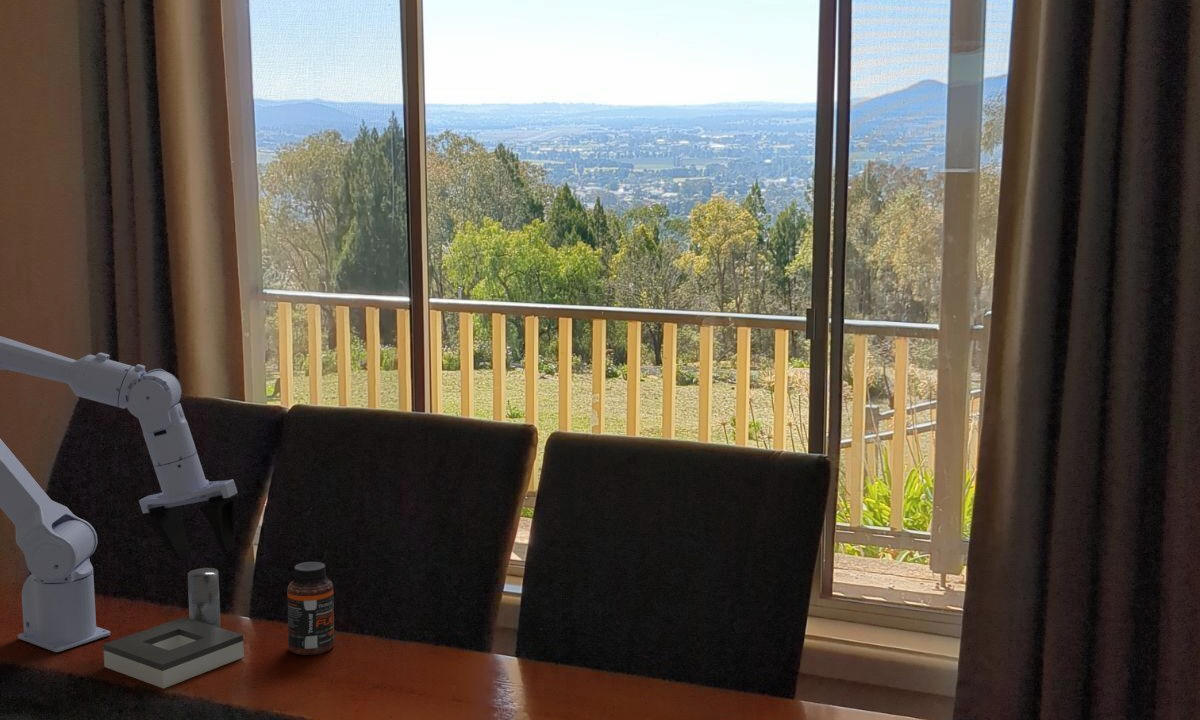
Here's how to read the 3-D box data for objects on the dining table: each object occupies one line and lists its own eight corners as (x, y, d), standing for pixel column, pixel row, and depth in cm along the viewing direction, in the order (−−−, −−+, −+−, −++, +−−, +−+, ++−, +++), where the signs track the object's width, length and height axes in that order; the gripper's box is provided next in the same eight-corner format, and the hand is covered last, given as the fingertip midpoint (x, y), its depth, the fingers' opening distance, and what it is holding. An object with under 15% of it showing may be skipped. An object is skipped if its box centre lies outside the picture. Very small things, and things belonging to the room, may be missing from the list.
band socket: (104, 666, 145) (103, 644, 145) (185, 638, 155) (184, 616, 155) (163, 688, 139) (162, 664, 138) (243, 657, 149) (243, 634, 148)
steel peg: (183, 629, 159) (181, 573, 158) (208, 621, 162) (205, 566, 161) (202, 635, 156) (200, 578, 155) (226, 626, 160) (224, 571, 159)
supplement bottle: (322, 658, 148) (320, 574, 147) (280, 655, 149) (277, 571, 148) (342, 642, 154) (340, 560, 153) (301, 638, 155) (298, 557, 154)
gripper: (237, 441, 155) (267, 535, 157) (152, 458, 160) (182, 549, 162) (204, 457, 148) (236, 554, 150) (117, 474, 153) (149, 569, 155)
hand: (206, 553), depth 156 cm, fingers open, 7 cm apart
